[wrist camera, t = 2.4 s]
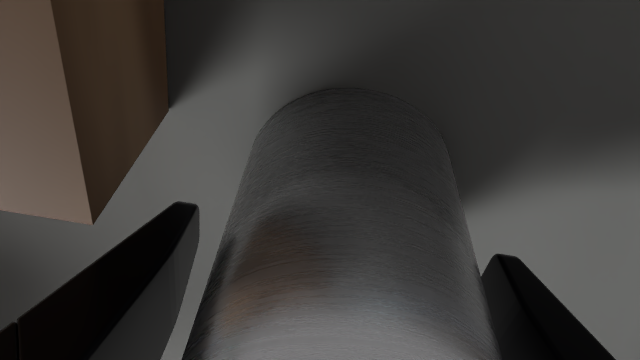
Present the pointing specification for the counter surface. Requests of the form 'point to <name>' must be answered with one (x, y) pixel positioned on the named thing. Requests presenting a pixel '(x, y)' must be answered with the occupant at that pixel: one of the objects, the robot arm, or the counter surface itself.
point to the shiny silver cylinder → (345, 243)
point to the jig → (76, 101)
